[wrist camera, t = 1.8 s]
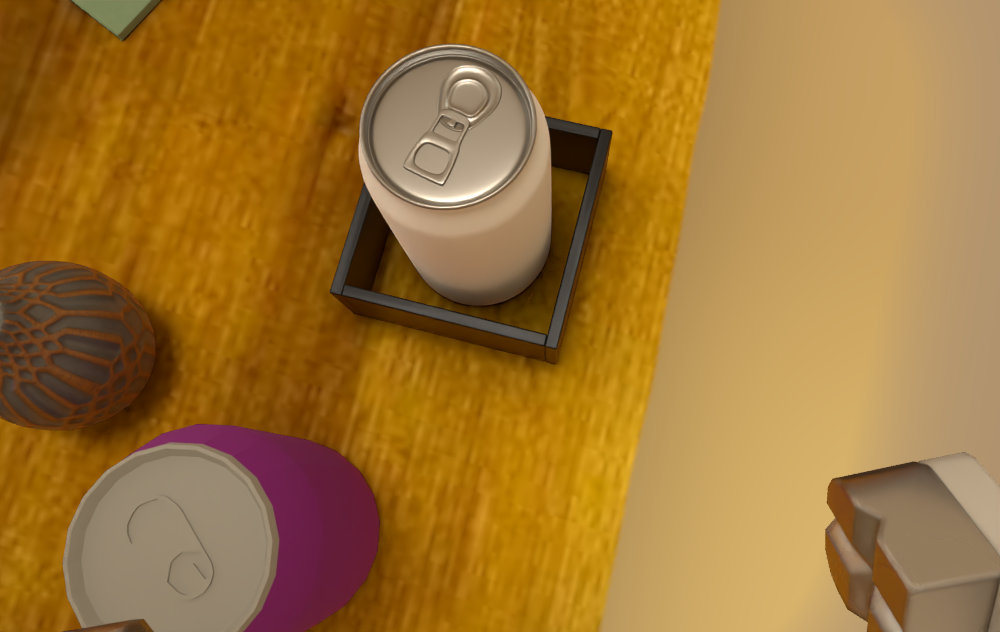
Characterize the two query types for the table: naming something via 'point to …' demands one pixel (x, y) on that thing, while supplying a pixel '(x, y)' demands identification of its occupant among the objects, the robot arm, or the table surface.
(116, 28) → the mat
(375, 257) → the bottomless square frame
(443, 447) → the table surface
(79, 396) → the vase
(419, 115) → the can
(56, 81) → the table surface
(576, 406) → the table surface
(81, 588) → the beverage can
